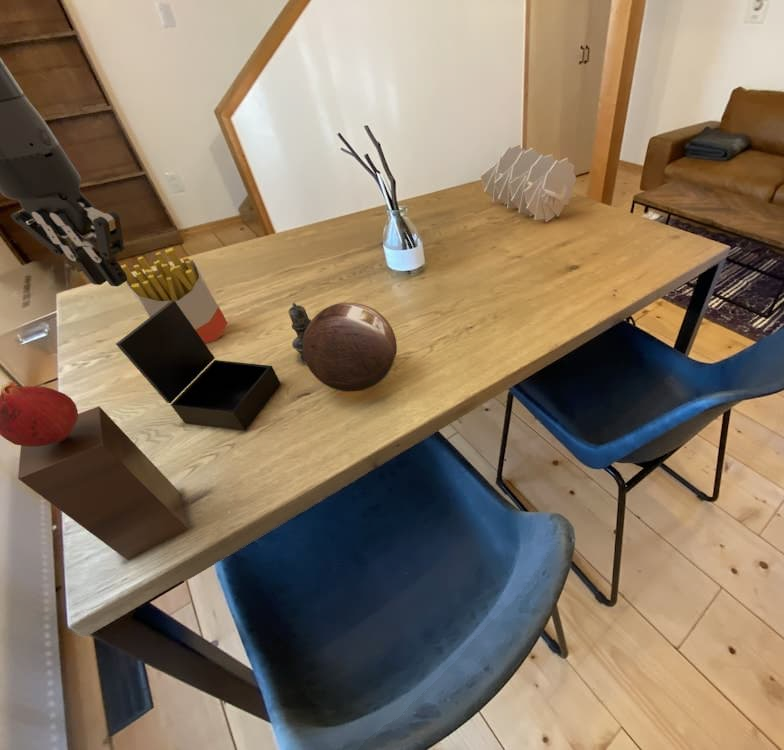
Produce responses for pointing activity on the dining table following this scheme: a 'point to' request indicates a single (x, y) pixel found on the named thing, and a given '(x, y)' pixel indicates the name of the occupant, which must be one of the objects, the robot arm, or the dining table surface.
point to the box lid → (167, 351)
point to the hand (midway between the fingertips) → (111, 282)
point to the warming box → (227, 395)
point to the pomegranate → (35, 415)
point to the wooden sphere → (349, 347)
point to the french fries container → (177, 292)
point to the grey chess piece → (299, 327)
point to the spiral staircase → (530, 182)
